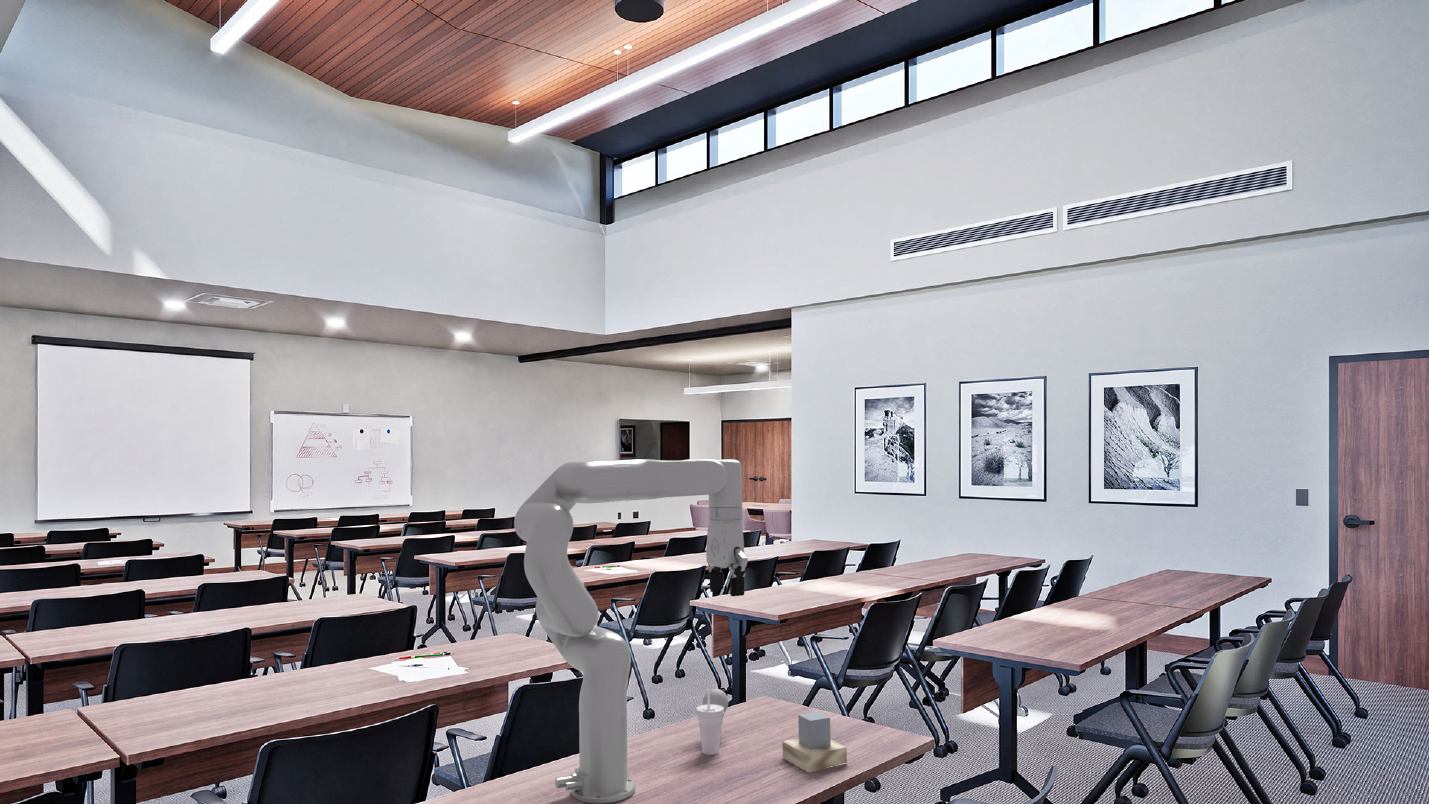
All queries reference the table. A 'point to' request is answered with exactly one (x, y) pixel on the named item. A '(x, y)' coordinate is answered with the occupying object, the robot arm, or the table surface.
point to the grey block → (814, 730)
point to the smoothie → (710, 726)
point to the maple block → (814, 755)
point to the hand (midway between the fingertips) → (726, 592)
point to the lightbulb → (717, 699)
